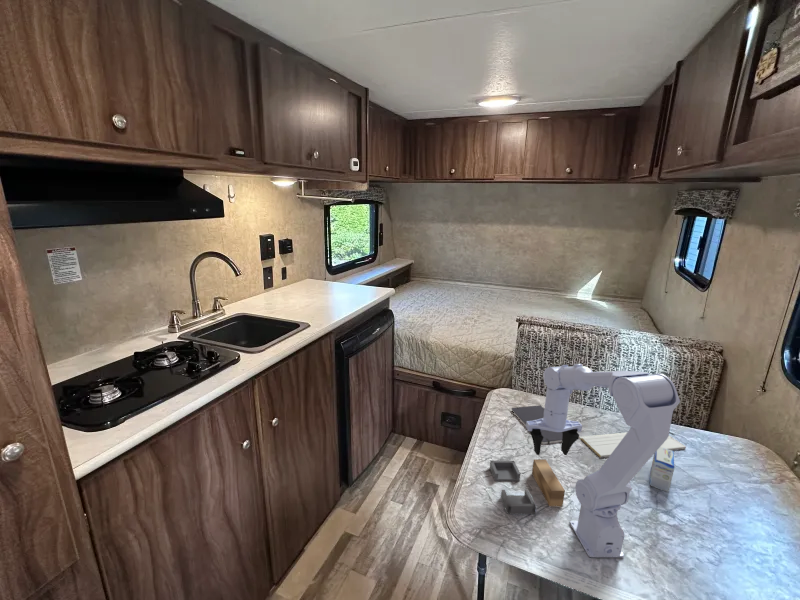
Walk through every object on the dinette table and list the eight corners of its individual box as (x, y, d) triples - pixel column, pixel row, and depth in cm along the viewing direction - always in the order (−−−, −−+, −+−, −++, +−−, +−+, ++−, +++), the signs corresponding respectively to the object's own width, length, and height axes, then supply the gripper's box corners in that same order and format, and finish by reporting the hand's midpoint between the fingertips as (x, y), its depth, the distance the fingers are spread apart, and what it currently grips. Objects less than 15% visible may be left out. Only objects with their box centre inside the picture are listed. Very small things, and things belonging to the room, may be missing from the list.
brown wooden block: (562, 506, 94) (564, 490, 93) (549, 506, 94) (551, 490, 93) (543, 474, 106) (545, 459, 104) (531, 474, 106) (533, 459, 104)
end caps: (535, 514, 91) (536, 506, 91) (507, 514, 91) (508, 506, 91) (513, 467, 108) (514, 460, 107) (489, 467, 108) (490, 460, 107)
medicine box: (650, 470, 108) (655, 444, 106) (668, 476, 105) (674, 450, 103) (649, 485, 102) (655, 459, 99) (669, 493, 99) (675, 466, 97)
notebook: (575, 442, 121) (540, 408, 142) (576, 437, 121) (540, 405, 141) (541, 446, 119) (510, 411, 139) (542, 441, 118) (510, 407, 139)
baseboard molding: (576, 436, 124) (600, 460, 113) (577, 429, 124) (601, 451, 112) (654, 429, 129) (685, 450, 118) (656, 422, 129) (687, 443, 117)
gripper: (575, 401, 101) (569, 443, 104) (524, 400, 101) (519, 443, 104) (588, 415, 94) (581, 460, 97) (533, 414, 94) (528, 459, 97)
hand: (550, 452), depth 100 cm, fingers open, 7 cm apart
